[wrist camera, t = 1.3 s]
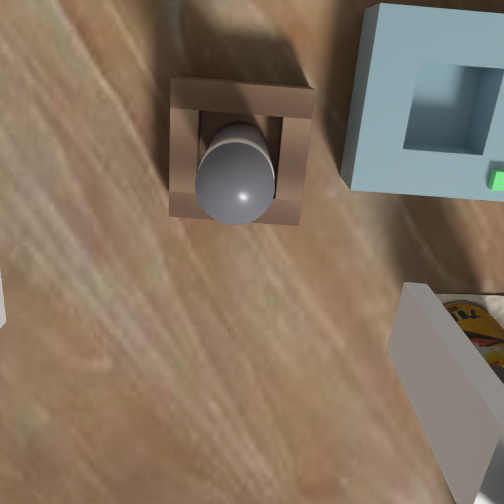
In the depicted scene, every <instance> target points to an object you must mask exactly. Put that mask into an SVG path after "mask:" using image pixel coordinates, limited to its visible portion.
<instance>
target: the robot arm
mask: <svg viewBox="0 0 504 504" xmlns="http://www.w3.org/2000/svg"><path fill="white" fill-rule="evenodd" d="M5 322H6V316H5V307H4V299H3V290H2V281H1V273H0V328H1V327H2V326H3V325H4V324H5ZM387 354H388V356H389V358H390V360H391V362H392V365H393V367H394V369H395V371H396V373H397V376H398V378H399V380H400V382H401V384H402V386H403V389H404V391H405V393H406V395H407V397H408V400H409V402H410V404H411V406H412V408H413V410H414V413H415V415H416V417H417V419H418V421H419V424H420V426H421V428H422V430H423V432H424V435H425V437H426V439H427V441H428V443H429V445H430V448H431V450H432V452H433V454H434V456H435V459H436V461H437V463H438V465H439V467H440V469H441V472H442V474H443V476H444V478H445V480H446V483H447V485H448V487H449V489H450V491H451V493H452V496H453V498H454V500H455V502H456V504H504V368H503V367H502V366H498V365H488V363H487V362H486V361H485V359H484V358H483V357H482V355H481V354H480V353H479V352H478V350H477V349H476V348H475V346H474V345H473V344H472V342H471V341H470V340H469V338H468V337H467V336H466V335H465V333H464V332H463V331H462V329H461V328H460V327H459V325H458V324H457V323H456V321H455V320H454V319H453V317H452V316H451V315H450V314H449V312H448V311H447V310H446V308H445V307H444V306H443V304H442V303H441V302H440V300H439V299H438V298H437V297H436V295H435V294H434V293H433V291H432V290H431V289H430V287H429V286H428V285H427V284H422V283H411V282H404V284H403V288H402V292H401V296H400V300H399V304H398V308H397V313H396V317H395V321H394V325H393V329H392V333H391V337H390V341H389V345H388V349H387Z"/></svg>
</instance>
